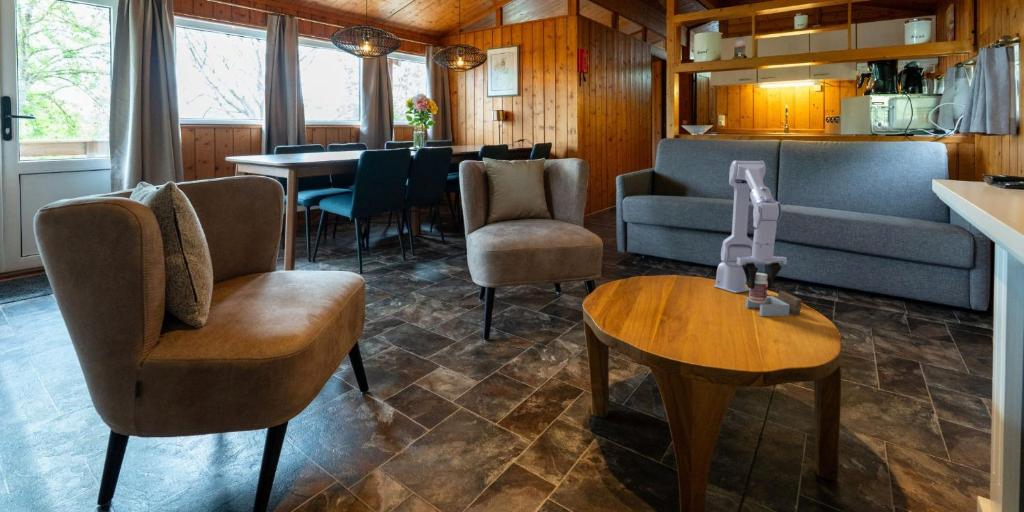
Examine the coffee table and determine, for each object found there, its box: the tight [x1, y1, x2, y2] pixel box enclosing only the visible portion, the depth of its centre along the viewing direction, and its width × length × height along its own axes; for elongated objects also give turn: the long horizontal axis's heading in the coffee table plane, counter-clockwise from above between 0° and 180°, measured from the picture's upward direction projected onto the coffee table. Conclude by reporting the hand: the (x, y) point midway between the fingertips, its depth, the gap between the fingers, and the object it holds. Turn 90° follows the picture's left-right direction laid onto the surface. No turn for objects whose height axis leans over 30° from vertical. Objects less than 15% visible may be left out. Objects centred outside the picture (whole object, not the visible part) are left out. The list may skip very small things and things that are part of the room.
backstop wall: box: [777, 290, 803, 317], centre depth 162 cm, size 2×9×5 cm, turn 6°
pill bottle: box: [748, 272, 769, 303], centre depth 160 cm, size 5×5×8 cm
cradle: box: [745, 295, 790, 317], centre depth 162 cm, size 8×9×3 cm
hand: (758, 287), depth 160 cm, fingers closed on pill bottle, 5 cm apart
